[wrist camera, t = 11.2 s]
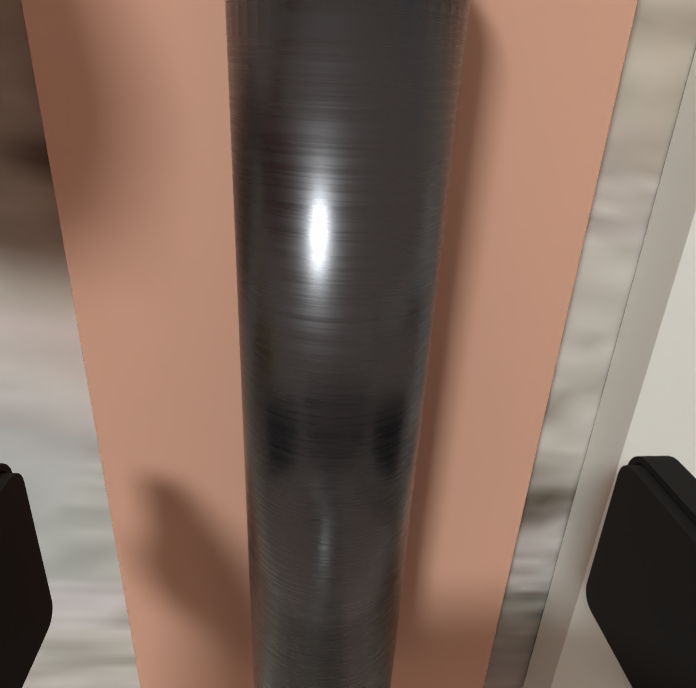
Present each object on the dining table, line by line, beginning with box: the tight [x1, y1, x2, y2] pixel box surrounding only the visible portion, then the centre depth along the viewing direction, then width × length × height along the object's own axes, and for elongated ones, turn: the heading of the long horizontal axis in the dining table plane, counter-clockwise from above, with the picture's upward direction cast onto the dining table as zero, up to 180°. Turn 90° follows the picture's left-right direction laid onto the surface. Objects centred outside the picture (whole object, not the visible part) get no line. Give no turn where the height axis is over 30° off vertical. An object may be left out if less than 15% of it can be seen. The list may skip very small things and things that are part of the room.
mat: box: [21, 0, 638, 688], centre depth 12 cm, size 20×9×1 cm, turn 178°
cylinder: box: [225, 0, 470, 688], centre depth 10 cm, size 16×3×3 cm, turn 178°
